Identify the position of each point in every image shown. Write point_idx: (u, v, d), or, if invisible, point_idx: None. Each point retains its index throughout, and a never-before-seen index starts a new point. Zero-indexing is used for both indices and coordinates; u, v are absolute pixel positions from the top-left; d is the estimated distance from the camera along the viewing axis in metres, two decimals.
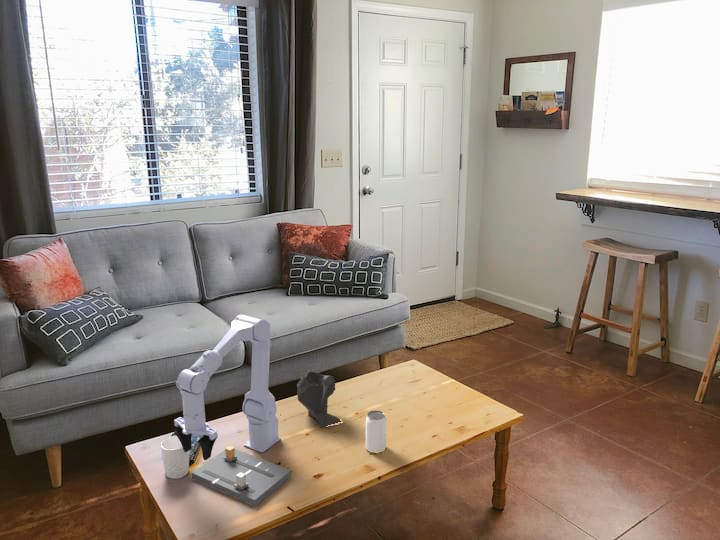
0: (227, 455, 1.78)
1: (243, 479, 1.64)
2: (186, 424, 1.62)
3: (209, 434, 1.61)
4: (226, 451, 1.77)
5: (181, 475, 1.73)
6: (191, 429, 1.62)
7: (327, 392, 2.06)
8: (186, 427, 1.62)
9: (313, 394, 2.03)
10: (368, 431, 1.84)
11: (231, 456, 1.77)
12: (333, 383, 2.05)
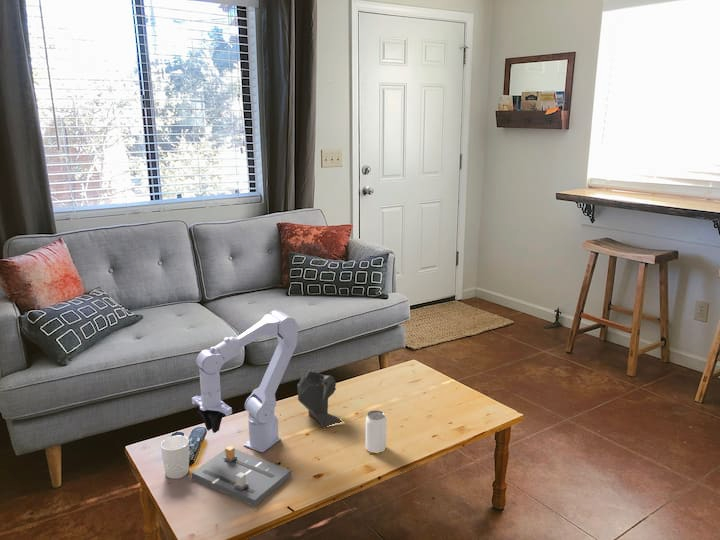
0: (227, 455, 1.78)
1: (243, 479, 1.64)
2: (203, 401, 1.75)
3: (224, 410, 1.73)
4: (226, 451, 1.77)
5: (181, 475, 1.73)
6: (208, 406, 1.75)
7: (327, 392, 2.06)
8: (203, 404, 1.75)
9: (314, 394, 2.03)
10: (368, 431, 1.84)
11: (231, 456, 1.77)
12: (333, 383, 2.05)
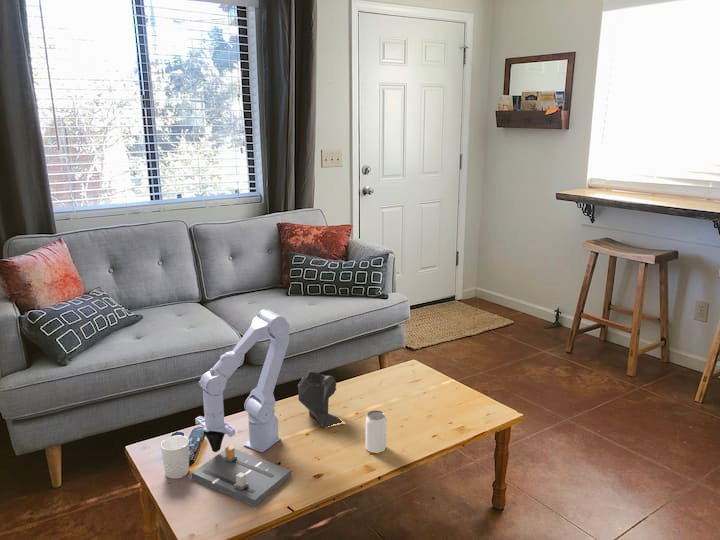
0: (227, 455, 1.78)
1: (243, 479, 1.64)
2: (207, 422, 1.76)
3: (228, 431, 1.75)
4: (226, 451, 1.77)
5: (181, 475, 1.73)
6: (211, 427, 1.76)
7: (328, 392, 2.05)
8: (207, 425, 1.76)
9: (314, 394, 2.03)
10: (368, 431, 1.84)
11: (231, 456, 1.77)
12: (334, 383, 2.05)
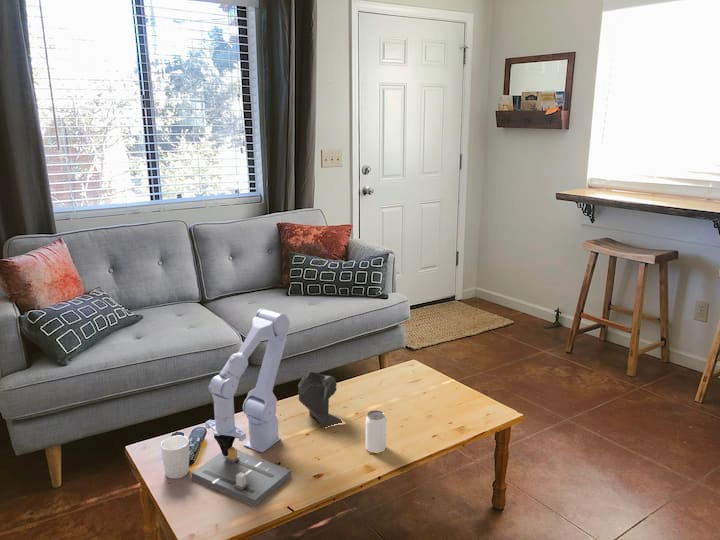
0: (230, 456, 1.77)
1: (243, 479, 1.64)
2: (217, 426, 1.74)
3: (239, 436, 1.73)
4: (229, 452, 1.77)
5: (181, 475, 1.73)
6: (222, 431, 1.74)
7: (328, 392, 2.05)
8: (217, 429, 1.74)
9: (314, 395, 2.03)
10: (368, 431, 1.84)
11: (234, 457, 1.77)
12: (334, 383, 2.05)
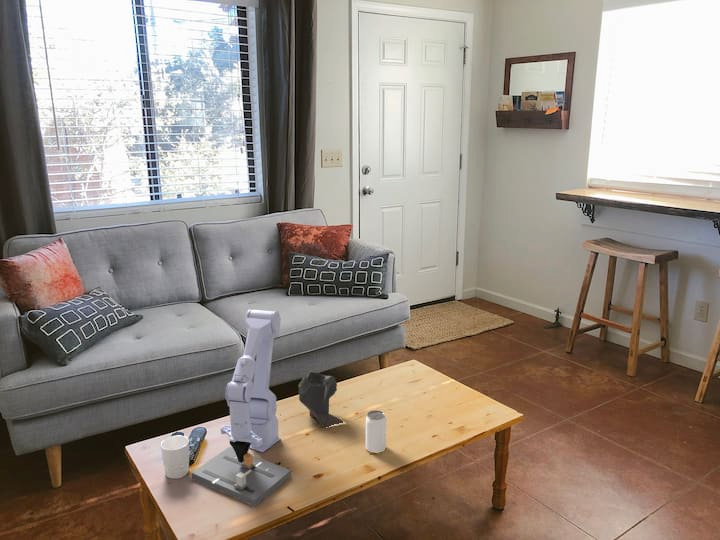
0: (245, 462, 1.74)
1: (243, 479, 1.64)
2: (233, 432, 1.71)
3: (255, 442, 1.70)
4: (244, 458, 1.74)
5: (181, 475, 1.73)
6: (238, 437, 1.71)
7: (329, 392, 2.05)
8: (233, 435, 1.71)
9: (315, 395, 2.03)
10: (368, 431, 1.84)
11: (250, 463, 1.74)
12: (335, 383, 2.04)
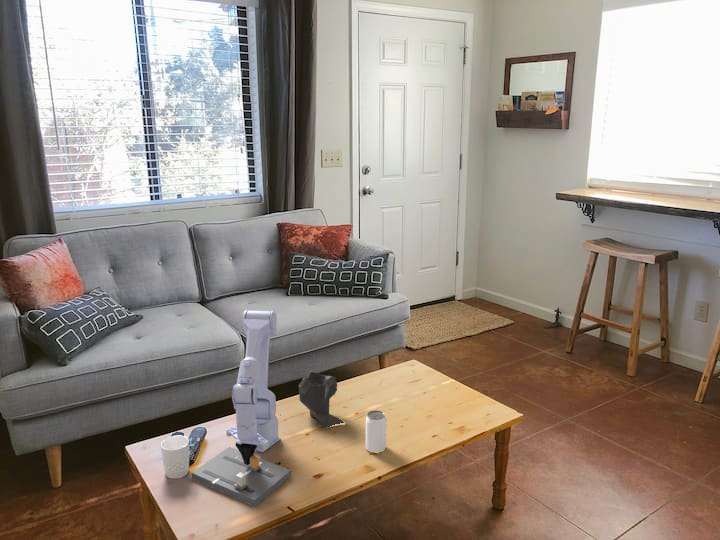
0: (252, 465, 1.73)
1: (243, 479, 1.64)
2: (239, 434, 1.70)
3: (261, 444, 1.68)
4: (251, 461, 1.73)
5: (181, 475, 1.73)
6: (244, 439, 1.70)
7: (329, 393, 2.05)
8: (239, 437, 1.70)
9: (315, 395, 2.03)
10: (368, 431, 1.84)
11: (256, 466, 1.73)
12: (335, 384, 2.04)
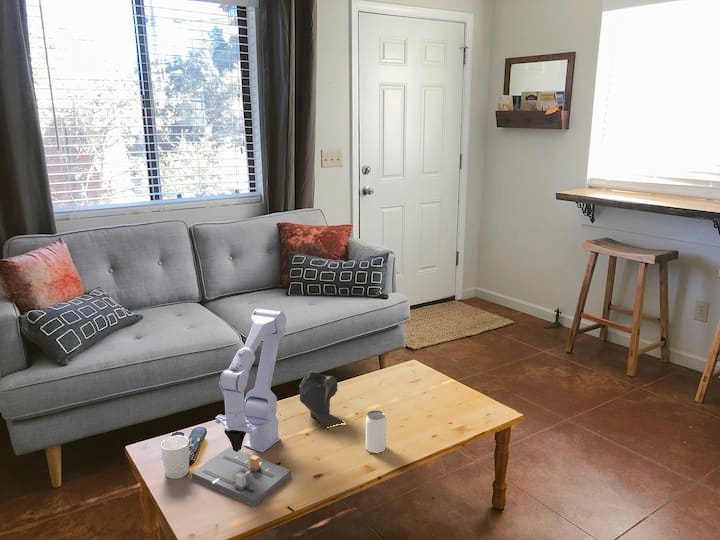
0: (252, 465, 1.73)
1: (243, 479, 1.64)
2: (228, 421, 1.71)
3: (250, 431, 1.70)
4: (251, 461, 1.73)
5: (181, 475, 1.73)
6: (233, 426, 1.71)
7: (329, 393, 2.05)
8: (228, 424, 1.71)
9: (315, 395, 2.03)
10: (368, 431, 1.84)
11: (256, 466, 1.73)
12: (335, 384, 2.04)
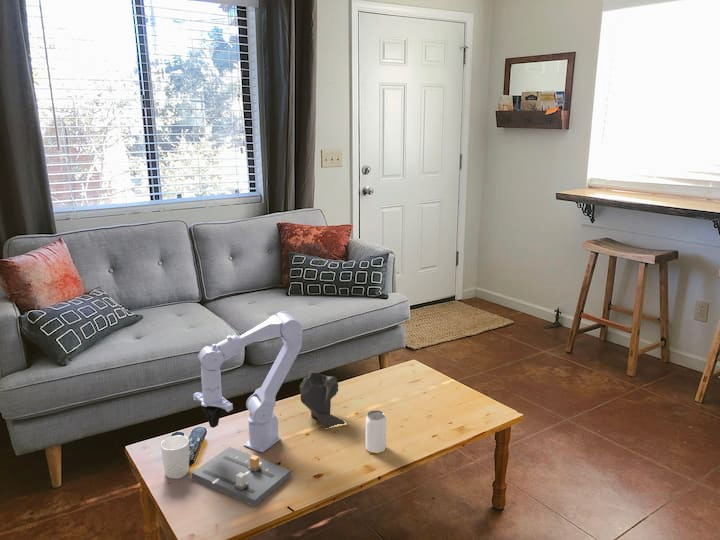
0: (252, 465, 1.73)
1: (243, 479, 1.64)
2: (204, 397, 1.77)
3: (225, 406, 1.76)
4: (251, 461, 1.73)
5: (181, 475, 1.73)
6: (209, 402, 1.77)
7: (330, 393, 2.05)
8: (204, 400, 1.77)
9: (316, 395, 2.03)
10: (368, 431, 1.84)
11: (256, 466, 1.73)
12: (336, 384, 2.04)
